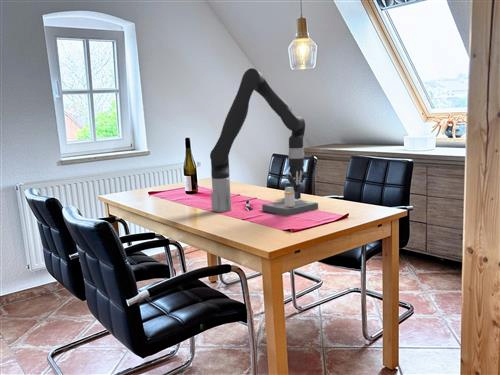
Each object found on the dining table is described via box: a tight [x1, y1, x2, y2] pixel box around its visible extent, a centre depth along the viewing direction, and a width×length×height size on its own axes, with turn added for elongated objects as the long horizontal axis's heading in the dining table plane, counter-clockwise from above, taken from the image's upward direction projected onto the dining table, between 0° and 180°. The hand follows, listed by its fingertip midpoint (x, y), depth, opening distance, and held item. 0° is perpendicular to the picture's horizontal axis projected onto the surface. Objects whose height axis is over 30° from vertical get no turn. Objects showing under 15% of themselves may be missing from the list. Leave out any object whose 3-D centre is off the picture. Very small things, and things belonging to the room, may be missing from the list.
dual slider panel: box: [261, 198, 319, 217], centre depth 246 cm, size 21×19×3 cm
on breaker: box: [284, 187, 295, 197], centre depth 252 cm, size 3×4×7 cm
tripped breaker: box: [284, 191, 296, 207], centre depth 237 cm, size 3×4×7 cm
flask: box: [284, 181, 302, 200], centre depth 275 cm, size 9×3×11 cm, turn 65°
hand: (296, 191), depth 240 cm, fingers closed
